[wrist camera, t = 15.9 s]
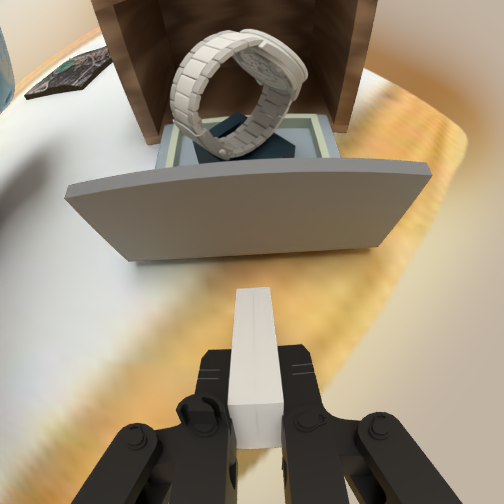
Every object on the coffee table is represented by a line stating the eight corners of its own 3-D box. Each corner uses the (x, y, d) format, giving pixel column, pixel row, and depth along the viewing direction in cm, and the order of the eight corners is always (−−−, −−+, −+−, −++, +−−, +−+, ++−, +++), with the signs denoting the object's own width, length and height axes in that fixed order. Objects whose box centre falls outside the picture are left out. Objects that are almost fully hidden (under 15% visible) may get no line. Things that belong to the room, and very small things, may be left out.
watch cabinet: (147, 144, 26) (89, -4, 10) (168, 76, 31) (142, -31, 16) (346, 132, 25) (381, -24, 10) (317, 67, 31) (328, -43, 15)
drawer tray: (128, 261, 19) (64, 198, 11) (152, 134, 24) (125, 65, 17) (377, 247, 19) (432, 175, 11) (339, 123, 24) (356, 50, 16)
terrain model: (134, 47, 39) (130, 35, 36) (84, 93, 34) (77, 78, 31) (71, 60, 42) (66, 50, 39) (27, 102, 37) (21, 91, 34)
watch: (308, 161, 21) (328, 32, 11) (232, 226, 19) (204, 82, 9) (256, 128, 23) (251, 10, 12) (182, 182, 20) (136, 56, 10)
